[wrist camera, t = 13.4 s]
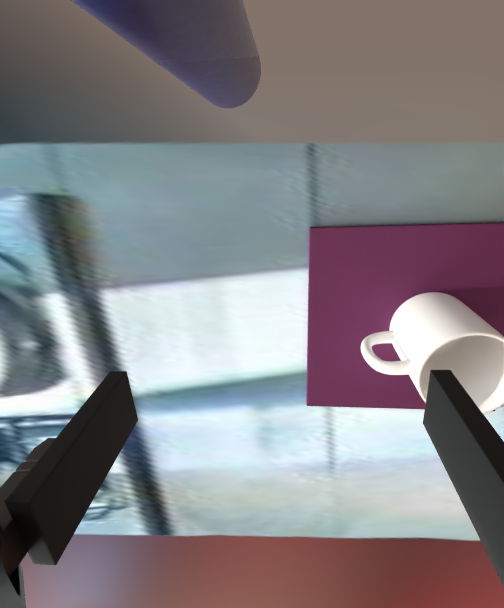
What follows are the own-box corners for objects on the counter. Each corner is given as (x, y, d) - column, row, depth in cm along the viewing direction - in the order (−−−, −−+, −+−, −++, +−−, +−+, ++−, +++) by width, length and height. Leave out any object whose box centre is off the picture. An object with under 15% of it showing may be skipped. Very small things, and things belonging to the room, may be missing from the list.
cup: (463, 357, 40) (516, 416, 31) (353, 361, 42) (371, 419, 32) (471, 287, 37) (532, 329, 28) (352, 295, 39) (372, 337, 29)
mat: (309, 227, 37) (309, 228, 37) (538, 221, 35) (542, 222, 34) (306, 403, 45) (306, 406, 45) (492, 408, 43) (495, 411, 42)
